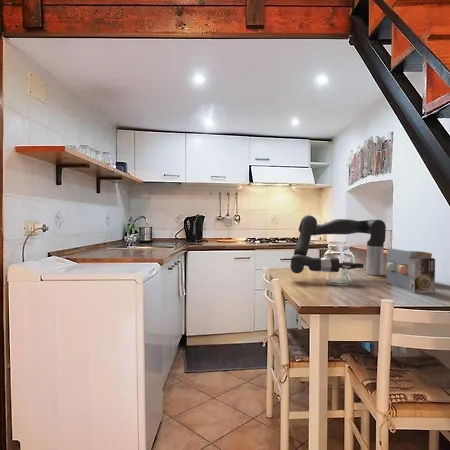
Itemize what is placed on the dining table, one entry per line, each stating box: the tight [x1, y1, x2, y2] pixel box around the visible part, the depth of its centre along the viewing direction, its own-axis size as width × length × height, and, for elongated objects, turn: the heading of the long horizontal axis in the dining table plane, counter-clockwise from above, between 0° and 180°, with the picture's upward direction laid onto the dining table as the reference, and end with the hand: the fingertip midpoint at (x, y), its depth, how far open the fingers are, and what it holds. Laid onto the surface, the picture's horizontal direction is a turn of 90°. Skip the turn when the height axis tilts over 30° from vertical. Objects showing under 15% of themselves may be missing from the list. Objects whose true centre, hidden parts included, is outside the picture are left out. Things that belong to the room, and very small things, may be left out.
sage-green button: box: [385, 262, 395, 271], centre depth 182 cm, size 4×7×4 cm, turn 96°
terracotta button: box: [398, 265, 408, 274], centre depth 172 cm, size 4×7×4 cm, turn 96°
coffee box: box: [408, 257, 436, 294], centre depth 163 cm, size 9×6×16 cm
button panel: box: [386, 248, 417, 291], centre depth 177 cm, size 20×3×18 cm, turn 6°
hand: (363, 265), depth 182 cm, fingers closed
